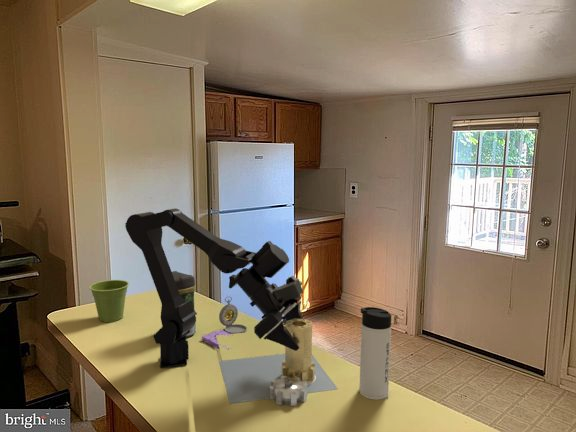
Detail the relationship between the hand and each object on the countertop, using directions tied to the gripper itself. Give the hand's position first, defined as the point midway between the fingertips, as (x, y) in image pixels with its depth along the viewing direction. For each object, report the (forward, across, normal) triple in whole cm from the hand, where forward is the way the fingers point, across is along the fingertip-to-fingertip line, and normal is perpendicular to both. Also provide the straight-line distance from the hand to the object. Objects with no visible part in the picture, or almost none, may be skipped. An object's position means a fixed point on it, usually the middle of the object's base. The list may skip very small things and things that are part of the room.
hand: (303, 341), depth 100 cm
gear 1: (+6, 0, +7) cm, 9 cm away
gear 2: (+6, -8, +7) cm, 12 cm away
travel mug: (+19, -1, -4) cm, 19 cm away
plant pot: (-42, +20, +57) cm, 73 cm away
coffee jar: (-22, +16, +37) cm, 46 cm away
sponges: (-11, +15, +27) cm, 32 cm away
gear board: (+2, 0, +12) cm, 12 cm away
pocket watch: (-12, +24, +27) cm, 38 cm away
